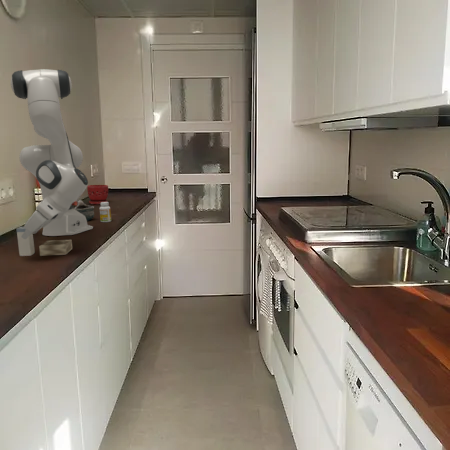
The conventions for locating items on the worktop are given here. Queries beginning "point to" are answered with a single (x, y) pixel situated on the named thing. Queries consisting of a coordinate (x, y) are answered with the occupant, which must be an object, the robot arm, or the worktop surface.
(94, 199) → the plant pot
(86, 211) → the mug
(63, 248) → the holder
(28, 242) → the peg
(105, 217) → the supplement bottle
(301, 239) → the worktop surface
